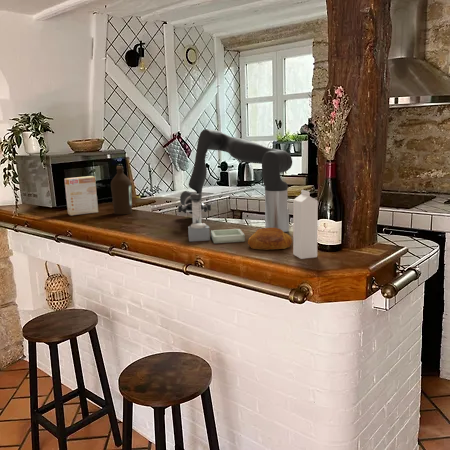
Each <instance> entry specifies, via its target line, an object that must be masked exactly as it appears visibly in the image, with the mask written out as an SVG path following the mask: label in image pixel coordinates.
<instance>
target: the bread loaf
mask: <svg viewBox="0 0 450 450" xmlns="http://www.w3.org/2000/svg"><path fill="white" fill-rule="evenodd" d="M292 243H293V238H292V236H291V235H289V234H288V233H286V232H283V231H282V230H281V229H278V228H265V227H263V228H258V229H257V230H256V231H255V232H254V233H253V234H252V235H251V236H250V237H249V238H248V240H247V244H248V246H249V247H250V248H251V249H252V250H269V251H270V250H284V249H288V248H290V247H291V245H293V244H292Z"/></svg>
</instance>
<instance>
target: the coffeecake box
mask: <svg viewBox="0 0 450 450" xmlns="http://www.w3.org/2000/svg"><path fill="white" fill-rule="evenodd" d="M64 188H65V190H64V191H65V199H66V208H67V214H68V215H69V216H79V215H87V214H95V213H99V205H98V195H97V184H96V176H93V175H87V176H77V177H66V178H64Z"/></svg>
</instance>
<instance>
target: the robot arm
mask: <svg viewBox="0 0 450 450" xmlns="http://www.w3.org/2000/svg"><path fill="white" fill-rule="evenodd" d="M208 150H211V151H220V152H225V153H228V154H229V155H230V157H232V158H233V159H236V160H237V161H238V160H239V161H241V162H244V163H251V164H261V171H262V172H261V173H262V174H261V175H262V182H263V185H264V208H265V209H264V210H265V212H264V214H265V216H264V219H265V220H264V221H265V226H264V228H278V229H281V230H282V231H283V232H284V233H286V232H290V209H289V207H288V183H287V182H286V181H284V180H283V179H281V174H282V173H285V172H287V171H288V170H290V169H291V167H292V166H293V158H292V156H291V155H290V153H289V152H287V151H286V150H284V149H283V150H282V149H276V148H270V147H267V146H264V145H262V144H259V143H256V142H253V141H251V140H247V139H245V138H240V137H234V136H230V135H227V134H226V133H224V132H222V131H219V130H215V129H210V128H208V129H206V128H204V129H203V130H201V132H200V134H199V135H198V139H197V147H196V150H195V151H196V152H195V159H194V165H193V169H192V172H191V175H190V179H189V181H188V187H189V188H190V189H192V190H193V191H195V192H192V191H189V190H188V191H187V190H185V191H183V192H182V193H181V194H180V197H179V200H180V204H178V206H177V211H178V213H184V214H187V213H189V214H191V215H192V200H191V199H190V194H195V193H199V194H202V193H203V188H204V184H205V181H206V178H207V172H208V171H207V165H206V156H207V153H208ZM202 195H203V194H202ZM202 200H203V198H202V199H201V201H202ZM211 210H212V205H211V204H210V202H206V203H205V204H204V203H202V202H201V213H202V212H204V213H207V212H208V211H211Z"/></svg>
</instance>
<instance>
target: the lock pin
mask: <svg viewBox="0 0 450 450" xmlns="http://www.w3.org/2000/svg"><path fill="white" fill-rule="evenodd" d="M194 193H195V194H190V199H191V200H192V214H191V215H192V224H194V223H202V212H201V203H202V200H203V194H199V193H197V192H194ZM201 199H202V200H201Z"/></svg>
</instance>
